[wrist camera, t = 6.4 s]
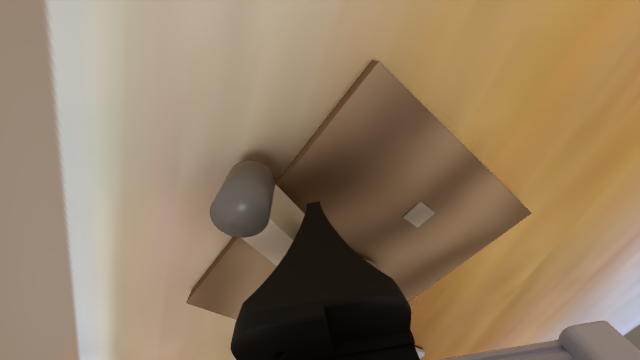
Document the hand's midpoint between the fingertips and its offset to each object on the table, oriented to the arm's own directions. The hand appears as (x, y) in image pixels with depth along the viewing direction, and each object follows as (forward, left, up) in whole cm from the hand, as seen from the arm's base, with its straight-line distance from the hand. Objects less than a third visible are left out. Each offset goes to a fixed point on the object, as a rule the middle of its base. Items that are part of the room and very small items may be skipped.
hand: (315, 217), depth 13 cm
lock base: (-6, +3, -4) cm, 8 cm away
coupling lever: (-2, +3, -2) cm, 4 cm away
